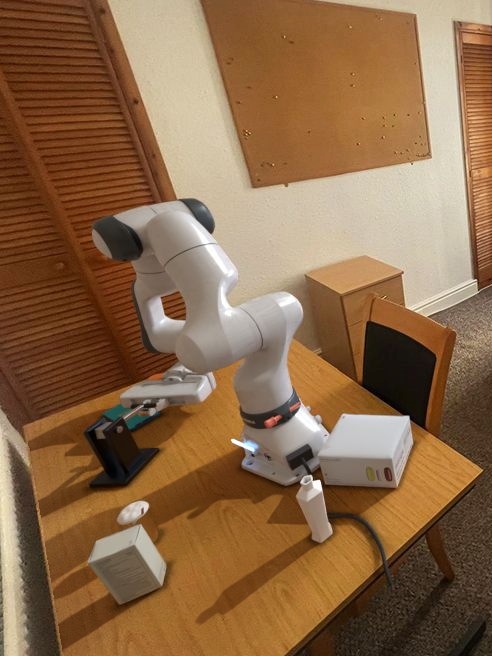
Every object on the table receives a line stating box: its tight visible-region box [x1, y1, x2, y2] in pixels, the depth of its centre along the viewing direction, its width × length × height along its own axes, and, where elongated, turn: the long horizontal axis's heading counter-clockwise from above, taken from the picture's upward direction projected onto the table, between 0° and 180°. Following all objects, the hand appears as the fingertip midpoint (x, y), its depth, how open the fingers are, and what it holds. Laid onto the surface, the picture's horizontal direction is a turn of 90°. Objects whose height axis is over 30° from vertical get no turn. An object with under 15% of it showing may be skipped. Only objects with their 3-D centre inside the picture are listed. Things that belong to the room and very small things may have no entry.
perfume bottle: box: [295, 475, 334, 544], centre depth 78 cm, size 5×4×15 cm
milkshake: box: [116, 500, 160, 544], centre depth 78 cm, size 4×5×10 cm
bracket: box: [82, 417, 161, 489], centre depth 93 cm, size 10×8×14 cm
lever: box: [95, 403, 157, 439], centre depth 96 cm, size 12×6×2 cm, turn 3°
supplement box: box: [317, 413, 414, 489], centre depth 94 cm, size 17×13×9 cm
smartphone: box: [102, 403, 161, 432], centre depth 112 cm, size 7×1×15 cm
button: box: [147, 372, 164, 380], centre depth 119 cm, size 4×4×2 cm
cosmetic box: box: [87, 524, 168, 606], centre depth 70 cm, size 6×4×12 cm
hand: (144, 414), depth 101 cm, fingers closed
